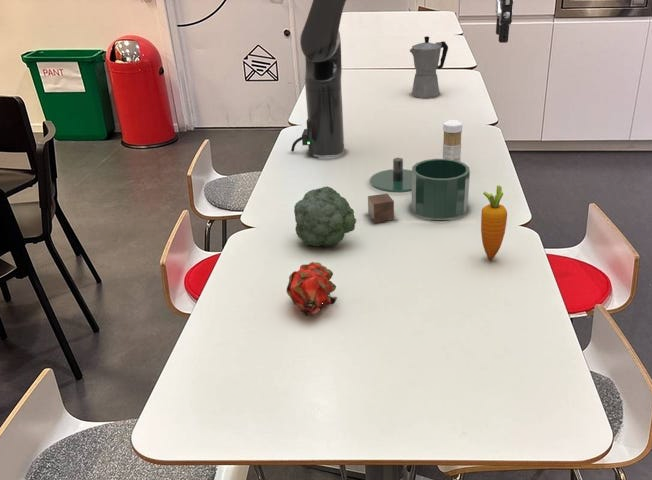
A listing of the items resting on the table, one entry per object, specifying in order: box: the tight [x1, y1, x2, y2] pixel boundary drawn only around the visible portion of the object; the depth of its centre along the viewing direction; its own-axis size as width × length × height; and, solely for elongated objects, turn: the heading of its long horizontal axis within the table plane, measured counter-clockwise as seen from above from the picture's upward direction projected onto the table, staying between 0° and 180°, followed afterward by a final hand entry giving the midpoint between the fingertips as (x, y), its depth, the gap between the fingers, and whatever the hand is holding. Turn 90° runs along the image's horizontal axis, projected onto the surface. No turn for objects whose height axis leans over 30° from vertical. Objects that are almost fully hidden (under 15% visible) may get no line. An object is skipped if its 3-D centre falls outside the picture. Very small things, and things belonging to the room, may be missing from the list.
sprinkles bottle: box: [442, 119, 463, 162], centre depth 172 cm, size 5×5×14 cm
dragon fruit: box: [286, 261, 338, 317], centre depth 125 cm, size 8×8×12 cm
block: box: [367, 193, 395, 224], centre depth 156 cm, size 5×5×5 cm
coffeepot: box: [409, 36, 449, 99], centre depth 230 cm, size 15×9×18 cm, turn 125°
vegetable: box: [293, 185, 357, 248], centre depth 146 cm, size 12×13×15 cm
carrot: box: [480, 185, 508, 261], centre depth 136 cm, size 5×5×15 cm
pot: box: [411, 158, 471, 222], centre depth 157 cm, size 13×13×10 cm
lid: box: [369, 157, 412, 193], centre depth 171 cm, size 14×14×6 cm
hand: (501, 38), depth 171 cm, fingers open, 8 cm apart
